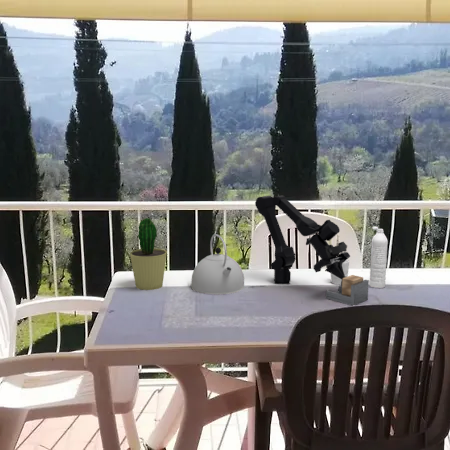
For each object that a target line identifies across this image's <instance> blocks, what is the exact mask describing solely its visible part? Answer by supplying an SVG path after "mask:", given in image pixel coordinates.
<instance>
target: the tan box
mask: <svg viewBox="0 0 450 450" xmlns="http://www.w3.org/2000/svg"><path fill="white" fill-rule="evenodd" d="M363 280H364V277H363V276H359V275H354V274H350V275H348V277H346V276H345V277H343V279H342V281H341V285H340V286H341V287H342V294H343V295H347V296H351V285H353V284H355V283H358V282H360V281H363Z"/></svg>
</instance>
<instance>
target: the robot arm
mask: <svg viewBox="0 0 450 450" xmlns="http://www.w3.org/2000/svg"><path fill="white" fill-rule="evenodd" d="M254 204H255V207H256V209H257V211H258V213H259V214H260V215H262V217H263V218H264V220H265V223H266V226H267V228H268V232H269V234H270V238H271V239H272V242H273V244H274V245H273V246H274V250H275V251H274V260H273V262H272V263H271V264H270V268H271V270H273V279H272V280H273V282H274V284H275V285H277V284H278V285H279V284H282V285H283V284H285V285H288V284H290V283H291V274H292V273H291V271H290V268H293V264H295V262H296V261H295V260H296V259H297V258H296V256H297V255H296V253H295V251H294V247H293V246H289V245H287V242H286V240H285V237H284V234H283V232H282V229H281V226H280V223H279V221H278V218H277V215H276V210H277V208H279V209H280V210H281V211H282V212H283V213H284V214H285V215H286V216H287V217H288V218H289V219H290V220H291V221H292V222H293V223H294V224H295V227H296V230H297V231H298V232H299V233H300V235H301V236H302V237H308V238H306V242H305V245H306V246H309V245H311V246H312V247H313V249H314V250H315V252H316V253H315V255H316V257H319V258H320V260H319V259H318V261H317V262H316V263H315V264H314V265H313V270H314V272H315V273H319V272H321V271H322V268H324V267H326V268H325V270H324V271H325V272H328V273H330V275H331V274H333V275H335V276H337V277H338V278H340V279H343V277H345V275H344V272H343V268H342V263H343V262H345V261H346V260H349V258H350V257H351V255H350V253H349V252H348V251H347V248H348V245H347V244H346V243H345V241H341V242H338V243H337V245H335V246H334V245H333V244H329V243H328V242H330V241H331V240H332V239H333V238H334V237H335V236H337V234H339V233H340V227H339V226H338V224H337V223H335V222H332V221H331V220H330V219H326V220H325V221H324V222H323V223H322V225H320V224H319V223H317V222H316V221H315V220H313V219H312V218H310V217H309V216H305V215H304V214H303V213H302V212H300V210H298V208H296V207H295V205H293V203H291V202H290V201H289V200H288V199H287V197H286V196H285V195H278V196H274V197H273V196H271V195H264V196H258V197H257V198H255V203H254ZM309 236H310V237H309Z"/></svg>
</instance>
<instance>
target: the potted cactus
mask: <svg viewBox="0 0 450 450" xmlns="http://www.w3.org/2000/svg"><path fill="white" fill-rule="evenodd" d="M153 220H154V219H152V218H151V217H150V218H149V217H142V220H140V221H139V222H138V223H137V226H138V227H137V228H138V230H137V232H138V233H137V241H138V242H139V243H138V246H139V248H138V249H135V250H132V251H130V253H129V255H130V261H131V267H132V272H133V277H134V278H133V279H134V284H135V287H136V288H137V289H138V290H141V291H153V290H159V289H161V288H162V287H163V285H164V284H163V283H164V277H165V276H164V275H165V269H166V261H167V253H168V251H167V250H165V249H163V248H155V246H156V244H157V238H158V237H159V234H160V232H159V231H158V227H157V226H156V224H155V223H154V221H153Z"/></svg>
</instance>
